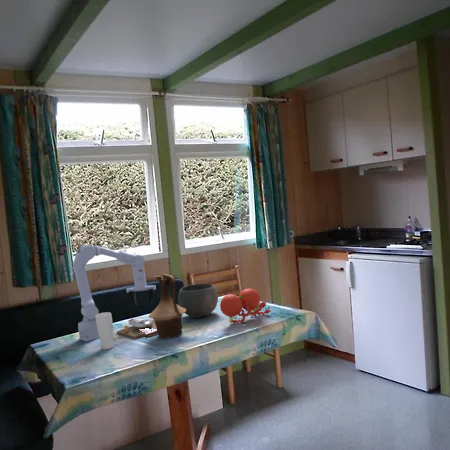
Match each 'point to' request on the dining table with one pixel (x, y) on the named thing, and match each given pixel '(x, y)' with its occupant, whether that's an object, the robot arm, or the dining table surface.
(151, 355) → the dining table surface
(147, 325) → the flange
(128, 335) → the board
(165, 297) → the pitcher
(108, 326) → the drinking glass
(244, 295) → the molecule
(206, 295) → the bowl
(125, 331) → the dowel
